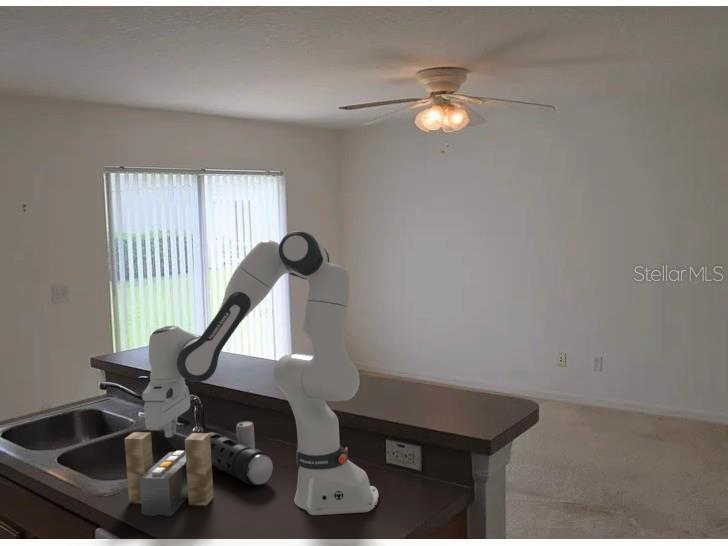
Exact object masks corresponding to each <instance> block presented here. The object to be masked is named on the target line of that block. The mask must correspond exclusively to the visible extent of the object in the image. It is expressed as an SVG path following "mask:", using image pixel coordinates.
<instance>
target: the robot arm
mask: <svg viewBox="0 0 728 546" xmlns="http://www.w3.org/2000/svg"><path fill="white" fill-rule="evenodd" d="M286 274H289V275H291V276H293V277H296V278H300V279H303V280H307V282H308V293H307V299H306V303H305V304H306V305H305V310H304V317H303V323H302V331H303V334H305V336H306V337H307V338H308V339H309V340H310V342H311V344H312V349H313V354H307V353H306V354H305V353H292V354H286V355H283V356H281V357H280V358H279V359H278V360H277V362H276V364H275V366H274V370H273V380H274V382H275V384H276V386H277V387H278V388H279V389H280V390H281V391H282V393H283V394H284V395H285V398H286V399H287V401H288V403H289V405H290V407H291V410H292V412H293V416H294V420H295V424H296V425H295V426H296V433H297V437H296V438H297V449H296V455H295V456H296V466H297V467H296V468H297V471H298V473H297V485H296V492H295V496H294V504H295V505H296V506H297V507H298V508H300V509H303V510H305V511H306V512H307V513H308V514H309V515H310V516H322V515H340V514H357V513H360V514H361V513H368V512H370V511H372V510H374V508H375V507H376V506H377V504H378V502H379V499H378V498H380V497H379V491H378V489H377V487H376V486H374V485H370V479H369V477H368V474H367V472H366V470H363V469H362V468H360V467H359V466H358V465H356V464H355V463H354V462H352V461H350V460H349V458H348V446H346V447H343V446H342V445H341V444H340V430H339V428H340V425H339V418H338V416H337V415H336V413H335V412H334V411H333V409H331V408H330V407H329V406H328V404H327V402H326V401H329V402H342V401H349V400H351V399H352V398H353V397H354V396H355V395H356V394H357V392H358V390H359V387H360V380H361V379H360V373H359V370H358V368H357V366H356V365H355V364H354V363H353V361H352V360H351V359H350V356H349V354H348V350H347V347H346V341H345V332H346V331H345V330H346V321H347V313H348V308H349V307H348V305H349V298H350V296H349V295H350V277H349V272H348V270H347V269H345V268H344V266H341V265H339V264H336V263H332V262H330V256H329V253H328V251H327V250H326V248H325V247H324V246H323V245H322V243H321V242H320V241H319V240H318V239H317V238H316V237H314V235H312V234H311V233H310V232H306V231H301V230H295V231H291V232H289V233H287V234H286V235H285V236H284V237H283V238H282V239H281V241H280V243H278V242H276V241H274V240H269V239H266V240H265V239H264V240H261V241H259V243H257V244H256V245H255V246H254V247H253V248H252V249H251V250H250V251H249V252H248V253H247V254H246V256H245V257H244V258H243V259H242V260H241V262H240V263H239V264H238V266H237V267H236V269H235V270H234V272H233V273H232V275H231V277H230V279H229V281H228V283H227V285H226V288H225V292H224V296H223V299H222V303H221V305H220V308H219V310H218V311H217V313H216V315H215V316H214V317H213V319H212V320H211V321H210V322H209V324H208V325H207V327H206V328H205V330H204V331H203V333H202V334H201V335H198V334H194V333H191V332H188V331H186V330H185V329H182V328H181V327H180V326H178V325H167V326H163V327H160V328H157V329H156V330H154V331H153V332H152V333H151V335H150V336H149V339H148V340H149V341H148V360H149V361H148V362H149V365H150V369H151V370H150V375H149V377H150V378H149V379H150V382H148V384H147V387H146V388H145V389H144V391H143V392H142V395H141V397H142V401H145V402H144V405H143V408H144V409H143V411H144V412H143V413H144V424H145V427H146V429H147V430H148V431H160V430H162V429H163V431H164V438H172V437H173V436H174V435H176V434H177V429H176V428H177V424H178V421H179V420H178V417H180V416H181V415H183V414H184V413H186V412H187V411H188V410H189V409H190V407H191V399H190V397H191V396H190V390H189V386H188V385H186V381H185V380H187V381H188V382H192V383H202V382H205V381H208V380H209V379H210V378H211V377H212V376H213V375H214V374H215V372H216V370H217V367H218V362H219V357H220V354H221V352H222V350H223V348H224V346H225V345H226V343H227V342H228V341H229V339H230V338H232V337H231V336H233V335H232V334H234V332H235V330H237V328H238V326H239V325H240V323H241V322H242V321H244V319H245V318H246V317H247V316H248V315H250V313H251V312H253V310H254V309H255V308H256V307H257V306H259V304H260V303H261V302H262V301H263V300H264V299H265V298H266V297H267V296H268V294H270V292H271V291H272V289H273V287H274V286H275V285H276V284H277V282H278V281H279V279H280V278H281V277H282V276H283V275H286ZM375 505H376V506H375Z"/></svg>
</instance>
